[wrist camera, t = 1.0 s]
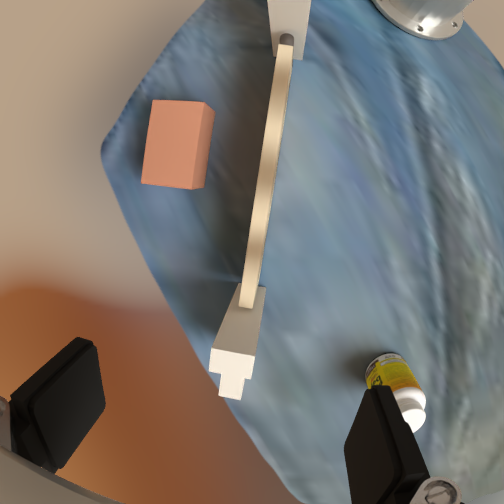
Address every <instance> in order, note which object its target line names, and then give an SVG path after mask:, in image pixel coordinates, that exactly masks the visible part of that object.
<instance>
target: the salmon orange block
mask: <svg viewBox="0 0 504 504" xmlns="http://www.w3.org/2000/svg"><path fill="white" fill-rule="evenodd" d="M214 117H215V111H214V110H212V109H211V108H210V107H209V106H208V105H207V104H206V103H205V102H194V101H174V100H153V103H152V109H151V115H150V121H149V127H148V133H147V140H146V147H145V154H144V162H143V170H142V179H141V183H142V184H151V185H159V186H168V187H176V188H184V189H197V188H203V187H204V185H205V178H206V170H207V163H208V156H209V150H210V143H211V136H212V130H213V124H214Z"/></svg>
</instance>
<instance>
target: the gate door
mask: <svg viewBox="0 0 504 504" xmlns="http://www.w3.org/2000/svg"><path fill="white" fill-rule="evenodd" d="M293 51H294V37H293V36H292V35H291V34H289V33H284V34H282V35H281V36H280V44H279V45H278V52H277V58H276V64H275V71H274V77H273V83H272V90H271V96H270V102H269V109H268V115H267V122H266V128H265V135H264V141H263V147H262V154H261V160H260V167H259V173H258V180H257V187H256V193H255V200H254V206H253V213H252V219H251V226H250V233H249V239H248V246H247V253H246V259H245V266H244V273H243V279H242V286H241V293H240V300H239V306H240V307H245V308H251V309H252V308H253V304H254V300H255V295H256V291H257V287H258V283H259V277H260V271H261V265H262V259H263V252H264V246H265V240H266V234H267V228H268V222H269V215H270V209H271V203H272V197H273V190H274V184H275V177H276V171H277V165H278V158H279V152H280V145H281V139H282V132H283V126H284V119H285V113H286V106H287V99H288V92H289V86H290V79H291V72H292V64H293Z"/></svg>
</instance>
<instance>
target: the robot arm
mask: <svg viewBox="0 0 504 504" xmlns="http://www.w3.org/2000/svg"><path fill="white" fill-rule="evenodd" d="M372 1H373V3H374V4H375V6H376V7H377V9H378V10H379V11H380V12H381V13H382V14H383V15H384V16H385V17H386V18H387V19H388V20H389V21H391V22H392V23H393V24H395V25H396V26H397V27H399V28H400V29H402V30H404V31H406V32H408V33H409V34H412V35H414V36H417V37H419V38H423V39H428V40H444V39H447V38H449V37H451V36H453V35H454V34H456V33H457V32H458V31H459V30H460V28H461V26H462V24H463V17H464V16H463V9H464V8H465V7H466V6H468V5H469V4H470V3H471V2H472V1H474V0H372ZM10 397H11V400H10V401H9V402H8V401H7V400H6V399H5V398H3V397H1V396H0V504H124V503H121V502H118V501H115V500H113V499H110V498H107V497H104V496H102V495H100V494H97V493H95V492H92V491H90V490H87V489H85V488H83V487H81V486H78V485H76V484H74V483H72V482H69V481H67V480H65V479H63V478H61V477H59V476H57V475H55V473H56V471H57V470H58V468H59V469H61V468H63V467H64V466H65V464H66V463H67V461H68V460H69V458H70V457H71V456H72V454H73V453H74V451H75V450H76V449H77V447H78V446H79V444H80V443H81V441H82V440H83V439H84V437H85V436H86V434H87V433H88V432H89V430H90V429H91V428H92V426H93V425H94V423H95V422H96V421H97V419H98V418H99V416H100V415H101V414H102V412H103V411H104V409H105V404H106V403H105V396H104V391H103V386H102V380H101V373H100V367H99V360H98V354H97V348H96V347H95V346H94V345H93V342H92V341H90V340H87V339H83V338H80V337H77V338H75V339H74V340H73V341H71V342H70V343H69V344H68V345H67V346H65V347H64V348H63V349H62V350H61V351H60V352H59V353H57V354H56V355H55V356H54V357H53V358H52V359H50V360H49V361H48V362H47V363H46V364H45V365H44V366H43V367H41V368H40V369H39V370H38V371H37V372H36V373H35V374H33V375H32V376H31V377H30V378H29V379H28V380H27V381H26V382H24V383H23V384H22V385H21V386H20V387H19V388H18V389H17V390H16V391H14V392H13V393H12V394H11V395H10ZM344 455H345V461H346V467H347V474H348V480H349V487H350V494H351V501H352V504H464V503H462V502H461V497H462V495H461V490H460V488H459V486H458V485H457V484H456V483H455V482H454V481H452V480H450V479H449V478H445V477H432V478H430V475H429V472H428V470H427V467H426V465H425V462H424V459H423V457H422V454H421V452H420V449H419V447H418V444H417V442H416V439H415V437H414V435H413V432H412V430H411V427H410V425H409V424H408V423H407V422H405V420H404V418H403V415H402V413H401V411H400V408H399V406H398V404H397V401H396V399H395V397H394V394H393V392H392V390H391V387H390V386H388V385H373V386H372V387H371V389H367V390H366V391H365V393H364V396H363V399H362V401H361V404H360V407H359V409H358V412H357V415H356V417H355V420H354V422H353V425H352V427H351V429H350V432H349V434H348V437H347V439H346V441H345V445H344ZM41 467H42V468H41Z"/></svg>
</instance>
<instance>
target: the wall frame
mask: <svg viewBox="0 0 504 504" xmlns="http://www.w3.org/2000/svg"><path fill="white" fill-rule="evenodd" d="M267 2H268V11H269V20H270V29H271V38H272V48H273V56H274V57H277V52H278V45H279V44H280V36H281V35H282V34H284V33H289V34H291V35H292V36H293V37H294V51H293V59H296V60H302V58H303V52H304V45H305V38H306V32H307V25H308V19H309V12H310V5H311V0H267ZM241 286H242V283H238V286H237V288H236V290H235V293H234V295H233V298H232V300H231V302H230V305H229V307H228V310H227V312H226V314H225V317H224V319H223V322H222V324H221V326H220V329H219V331H218V334H217V336H216V338H215V341H214V343H213V346H212V348H211V357H210V366H209V371H210V372H215V373H220V374H221V381H220V389H219V396H223V397H228V398H233V399H238V400H241V396H242V391H243V386H244V381H245V378H246V379H251V375H252V370H253V365H254V359H255V354H256V348H257V342H258V336H259V330H260V324H261V318H262V311H263V305H264V299H265V293H266V287H260V286H258V287H257V291H256V295H255V300H254V304H253V308H252V309H251V308H245V307H240V306H239V300H240V293H241Z"/></svg>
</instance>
